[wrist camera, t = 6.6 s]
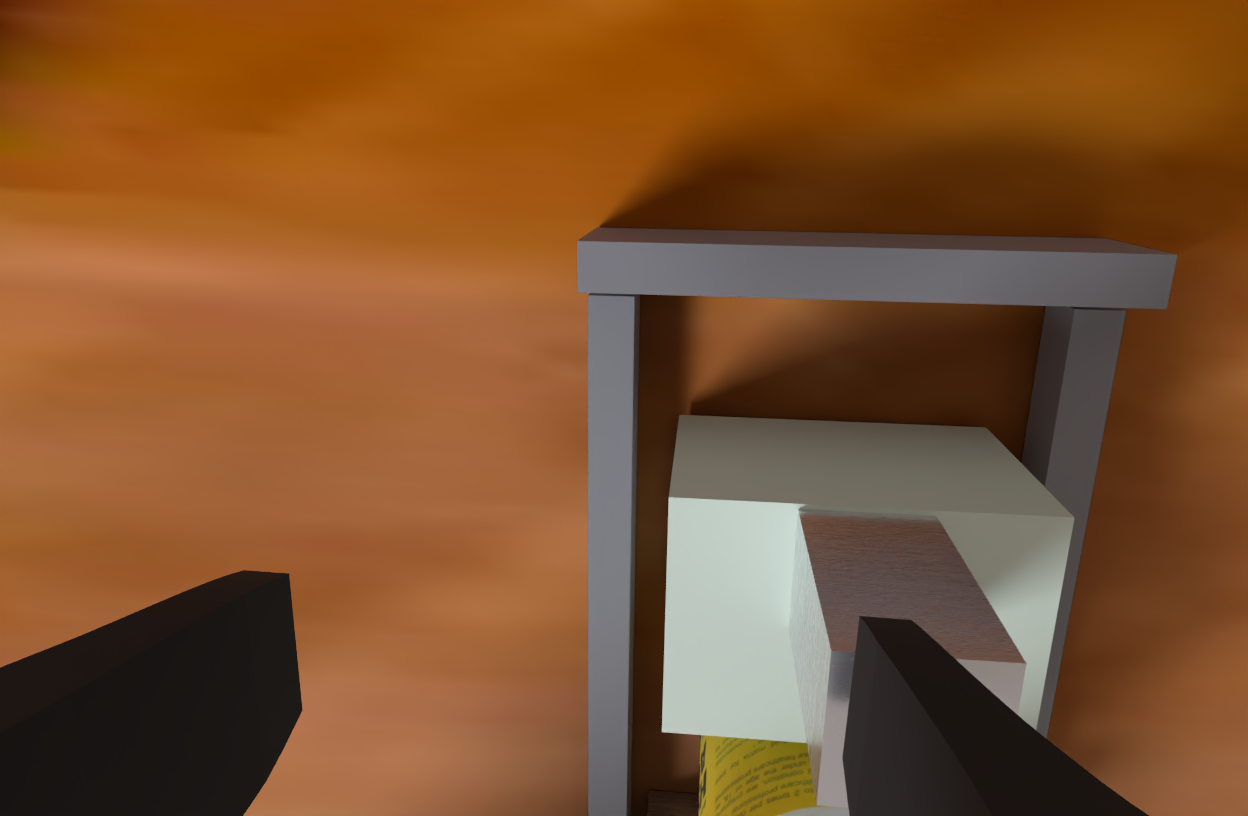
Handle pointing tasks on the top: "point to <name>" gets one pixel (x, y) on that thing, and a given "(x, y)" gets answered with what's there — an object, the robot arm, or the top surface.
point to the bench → (835, 270)
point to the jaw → (847, 571)
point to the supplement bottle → (757, 779)
